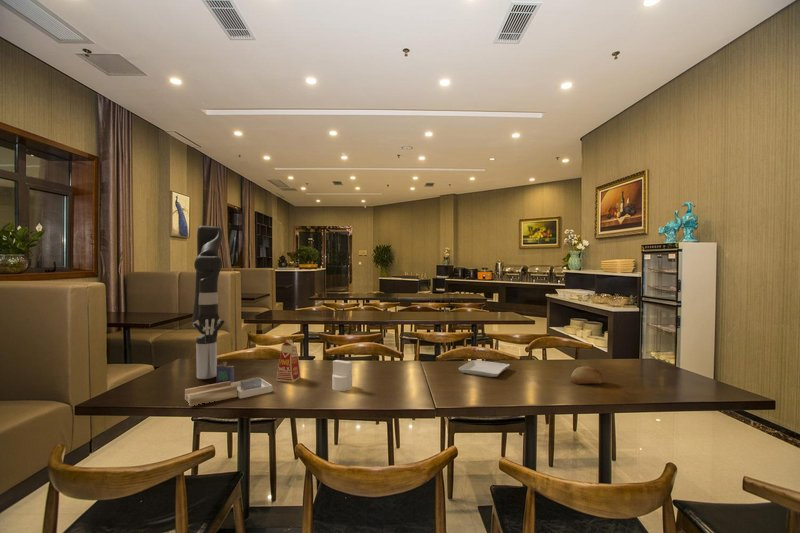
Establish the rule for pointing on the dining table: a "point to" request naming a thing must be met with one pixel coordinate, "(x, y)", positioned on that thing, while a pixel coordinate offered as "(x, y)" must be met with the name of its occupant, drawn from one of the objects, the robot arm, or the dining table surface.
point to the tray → (247, 393)
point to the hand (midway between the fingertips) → (208, 343)
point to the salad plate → (483, 368)
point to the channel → (210, 393)
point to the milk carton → (288, 363)
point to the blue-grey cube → (256, 382)
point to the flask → (224, 373)
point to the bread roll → (586, 375)
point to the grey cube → (246, 384)
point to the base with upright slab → (342, 375)
